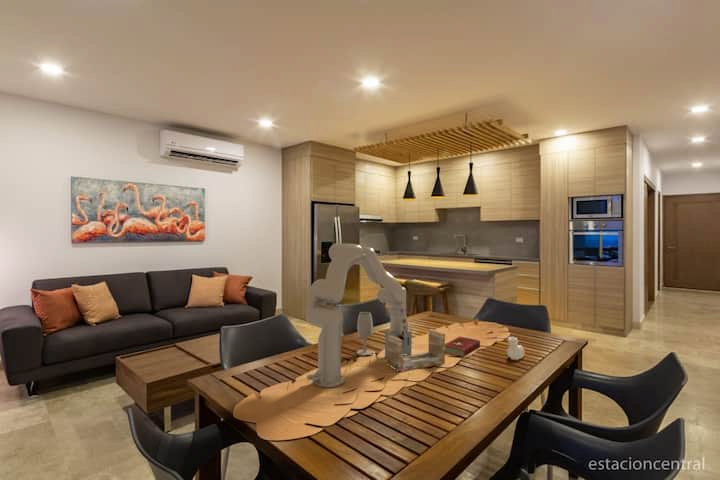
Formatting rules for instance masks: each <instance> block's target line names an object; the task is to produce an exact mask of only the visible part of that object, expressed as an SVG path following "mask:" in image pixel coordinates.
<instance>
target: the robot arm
mask: <svg viewBox="0 0 720 480" xmlns="http://www.w3.org/2000/svg"><path fill="white" fill-rule="evenodd" d="M328 256H329V258H330V259H331V261H330V263H329V265H328V267H327V269H326V270H327V271H326V275H325V278H318V279H316V280H315V281H313V283H312V284H311V286H310V289H309V293H308V299H307V304H306V311H305V318H306V319H305V320H306V321H307V323H308V324H309V325H311V326H313V327H317V328H320V329H321V331H320V332H319V335H318V338H317V370H315V372H314V373H313V374H307V375H306V379H307V381H310V380H311V381H312V382H314V384H315V385H316V386H318V387H320V388H321V387H322V388H335V387H336V386H337V387H339V385H340V386H342V385H343V384H344V383H345V377H344V376H343V375H342V348H341V347H342V343H341V342H342V328H343V323H344V314H343V312H342V311H341V310H340V309H339V308H337V307H334V306H331V305H326V303H329V304H339V303H340V302H341V301H342V300H343V298H344V293H345V287H346V282H347V281H346V280H347V276H348V273H349V270H350V268H351V267H352V266H353V265H359V266H361V267H362V268H363V270H364V272H365V273H366V275H367V277H368V279H369V281H371V282H373V283H374V284H377V285H378V286H380V287H382V288H380V289H379V290H378V291H377V294H376V298H377V299H378V301H379V302H381V303H383V304H390V306H391V307H390V308H391V309H390V312H391V314H390V327H389V328H390V332H395V333H397V334H398V338H399V339H401V340H403V341H404V339H405V338H406V337H407V335H406V334H408V330H409V324H408V323H409V321H408V316H407V288H405V287H404V286H402V283H400V281H398V279H397V278H396V277H394V276H393V275H392V274H390V273H389V272H388V271H387V270H385V268H384V266H383V264H382V262H381V261H380V258H379V256H378V255H377V253H376V251H375V249H374V248H372V247H369V246H361V245H360V244H356V243H343V242H342V243H337V242H336V243H334V244H332V245H331V246H330V247H329V249H328ZM400 336H401V337H400ZM341 384H342V385H341Z"/></svg>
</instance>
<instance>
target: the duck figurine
mask: <svg viewBox="0 0 720 480" xmlns="http://www.w3.org/2000/svg"><path fill="white" fill-rule="evenodd" d="M507 342H508V344H510V345H509V346H508V347H507V349H506V354H507V355H506V356H508V358H510V359H511V360H515V361H518V360H522V359H523V357H524V355H525V352H526V351H525V348H524V346H522V345H521V344H518V343H519V339H518V337H515V336H509V337H508V338H507Z"/></svg>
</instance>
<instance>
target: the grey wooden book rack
mask: <svg viewBox="0 0 720 480" xmlns="http://www.w3.org/2000/svg"><path fill="white" fill-rule="evenodd" d="M445 344H446V334H445V333H444V332H441V331H439V330H435V329H434V328H429V329H428V351H425V352H419V353H415V354H410V355H404V356H403V340H401V339H399V338H397V337H395V336H392V335H388V357H386V358H387V364H389V365H390V366H392V367H393V368H395V369H396V370H395V369H394V370H395V371H397V370H398V371H401V372H406V371H411V370H415V369H414V368H416V369H420V367H421V368H425V366H426V367H430V365H431V366H435V365H440V364H441V365H442V364H445V363H446V357H445V356H446V352H445ZM389 365H388V366H389ZM390 366H389V367H390ZM392 367H391V368H392ZM393 368H392V369H393ZM410 369H411V370H410ZM405 370H406V371H405ZM398 371H397V372H398Z"/></svg>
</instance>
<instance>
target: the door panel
mask: <svg viewBox="0 0 720 480" xmlns="http://www.w3.org/2000/svg"><path fill="white" fill-rule="evenodd" d="M388 335H392V336H395V337H397V338H398V334H397V333H395V332H391V331H387V332H385V333H384V357H385V356H386V358H387V357H388ZM406 335H407V337H406V338H405V339H404V341H403V355H404V354H409V353H411V354H412V340H413V339H412V337H413V336H412V335H413V334H412V330H410V329H408V334H406ZM400 337H401V336H400ZM404 356H405V355H404Z"/></svg>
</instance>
